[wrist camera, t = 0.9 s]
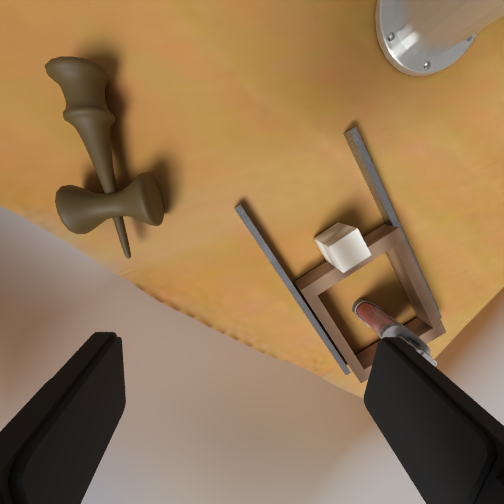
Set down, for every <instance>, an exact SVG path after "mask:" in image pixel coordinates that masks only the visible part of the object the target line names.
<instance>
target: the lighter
mask: <svg viewBox="0 0 504 504" xmlns="http://www.w3.org/2000/svg"><path fill="white" fill-rule="evenodd" d="M352 310H353V312H354V313H355V314H356V315H357V316H358V317H359V318H360V319H361V320H362V321H363V322H364V323H365V324H367V325H368V326H370V327H371V328H372V329H373V330H374V331H375V332H376V333H377V334H378V335H379V336H380V338H381V339H382V338H383V337H400V338H402V339H404V340H405V341H406V342H407V343H408V344H409V345H411V346H412V347H413V348H414V349H415V350H416V351H418V352H419V353H420V354H421V355H422V356H423V357H424V358H426V359H427V360H428V361H429V362H430V363H431V364H433V365H434V366H436V365H437V362H436V361H435V360H434V359H432V358H431V356H430V348H429V347H428V346H427V345H426V344H425V343H424V341H422V340H421V339H420V338H419V337H418V336H417V335H415V334H414V333H413V332H411V331H410V330H408V329H407V328H406V327H405V326H404V325H402V324H401V323H400V322H398V321H397V320H395V319H393V318H392V317H391V316H390V315H389V314H388V313H386V312H385V311H384V310H383V309H382V308H380V307H379V306H377V305H376V304H374V303H372V302H370V301H368V300H365V299H358V300H357V301H355V302H354V304H353V306H352Z"/></svg>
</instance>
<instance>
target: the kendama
mask: <svg viewBox="0 0 504 504" xmlns="http://www.w3.org/2000/svg"><path fill="white" fill-rule="evenodd" d="M45 68H46V72H47V74H48V75H49V77H51V78H52V79H53V80H54V81H55V82H56V83H58V84H59V85H60V87H61V89H62V91H63V94H64V97H65V100H66V109H65V110H64V112H63V117H64V119H65V120H66V121H67V122H69V123H71V124H72V125H73V126H74V127H75V128H76V130H77V131H78V133H79V135H80V136H81V138H82V140H83V142H84V144H85V147H86V149H87V151H88V153H89V155H90V158H91V160H92V162H93V165H94V167H95V170H96V172H97V175H98V177H99V180H100V182H101V185H102V188H103V190H104V193H105V194H102V193H95V192H92V191H89V190H86V189H84V188H81V187H77V186H74V185H66V186H62V187H60V189H59V190H58V191H57V192H56V199H55V203H56V207H57V212H58V214H59V216H60V219H61V221H62V223H63V224H64V225H65V226H66V227H67V229H68V230H69V231H71V232H73V233H75V234H86V233H88V232H90V231H92V230H93V229H95V228H96V227H97V226H98V225H100V224H101V223H102V222H103V221H105V220H107V219H110V218H113V220H114V223H115V226H116V230H117V233H118V236H119V239H120V242H121V245H122V248H123V251H124V254H125V256H126V257H127V258H130V257H131V252H130V247H129V242H128V238H127V233H126V229H125V224H124V220H123V216H131V217H134V218H136V219H139V220H141V221H143V222H145V223H147V224H150V225H153V226H159V225H160V224H161V223H162V221H163V217H164V207H163V201H162V196H161V193H160V190H159V187H158V185H157V183H156V181H155V180H154V178H153V177H152V176H151V175H150V174H148V173H142V174H140V175H138V176H137V177H136V178H135V179H134V180H133V181H132V182H131V183H130V184H129V185H128V186H127V187H126V188H125V189H123V190H122V191H119V192H117V187H116V181H115V175H114V168H113V160H112V152H111V141H110V130H111V126H112V125H113V124H114V122H115V120H116V118H115V116H114V115H113V114H112V113H111V112H110V111H109V109H108V107H107V104H106V99H105V88H106V87H107V85H108V81H109V77H108V74H107V73H106V71H105V70H104V69H103V68H102V67H100V66H99V65H97V64H96V63H94V62H92V61H89V60H86V59H83V58H77V57H58V58H54V59H51V60H50V61H49V62H48V63H47V64H45Z"/></svg>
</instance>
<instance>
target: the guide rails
mask: <svg viewBox="0 0 504 504" xmlns="http://www.w3.org/2000/svg"><path fill="white" fill-rule="evenodd" d="M344 136H345V138H346V140H347V142H348V144H349V146H350V148H351V151H352V153H353V155H354V157H355V159H356V161H357V163H358V165H359V168H360V170H361V172H362V174H363V176H364V178H365V180H366V183H367V185H368V187H369V189H370V191H371V193H372V195H373V198H374V200H375V202H376V204H377V206H378V208H379V210H380V212H381V215H382V217H383V219H384V221H385V223H386V225H390V226H395V227H399V228H400V231H401V233H402V235H403V237H404V239H405V242H406V244H407V246H408V248H409V251H410V253H411V255H412V257H413V259H414V262H415V264H416V266H417V268H418V270H419V273H420V275H421V277H422V279H423V282H424V284H425V286H426V288H427V290H428V293H429V295H430V297H431V299H432V301H433V304H434V306H435V308H436V310H437V313H438V315H439V317H440V318H442V317H441V315H440V313H439V310H438V308H437V306H436V304H435V302H434V299H433V297H432V295H431V293H430V290H429V288H428V286H427V284H426V281H425V279H424V277H423V275H422V272H421V270H420V268H419V266H418V264H417V261H416V259H415V257H414V255H413V252H412V250H411V248H410V246H409V243H408V241H407V239H406V237H405V235H404V232H403V230H402V228H401V226H400V223H399V221H398V219H397V217H396V214H395V212H394V210H393V208H392V206H391V203H390V201H389V199H388V197H387V194H386V192H385V190H384V188H383V185H382V183H381V181H380V179H379V176H378V174H377V172H376V170H375V168H374V165H373V163H372V161H371V159H370V156H369V154H368V152H367V150H366V147H365V145H364V143H363V141H362V139H361V136H360V134H359V132H358V130H357V127H354V128H352V129H350V130H348V131H347V132H345V133H344ZM234 209H235V210H236V212H237V213H238V215H239V216H240V218H241V219H242V221H243V222H244V224H245V225H246V227H247V228H248V230H249V231H250V233H251V234H252V236H253V237H254V239H255V240H256V242H257V243H258V245H259V246H260V248H261V249H262V251H263V252H264V254H265V255H266V257H267V258H268V260H269V261H270V263H271V264H272V266H273V267H274V269H275V270H276V272H277V273H278V274H279V276H280V277H281V279H282V280H283V282H284V283H285V285H286V286H287V288H288V289H289V291H290V292H291V294H292V295H293V297H294V298H295V300H296V301H297V303H298V304H299V306H300V307H301V309H302V310H303V312H304V313H305V315H306V316H307V318H308V319H309V321H310V322H311V324H312V325H313V327H314V328H315V330H316V331H317V333H318V334H319V336H320V337H321V339H322V340H323V342H324V343H325V345H326V346H327V348H328V349H329V351H330V352H331V354H332V355H333V357H334V358H335V360H336V361H337V363H338V364H339V366H340V367H341V369H342V370H343V372H344V373H345V375H347V374H349V373H351V372H350V371H349V369H348V367H347V366H346V364H345V363H344V361H343V360H342V358H341V357H340V355H339V354H338V352H337V351H336V349H335V348H334V346H333V345H332V343H331V342H330V340H329V339H328V337H327V336H326V334H325V332H324V331H323V329H322V328H321V326H320V325H319V323H318V322H317V320H316V319H315V317H314V316H313V314H312V313H311V311H310V310H309V308H308V307H307V305H306V304H305V302H304V301H303V299H302V297H301V296H300V294H299V293H298V291H297V290H296V288H295V287H294V285H293V284H292V282H291V281H290V279H289V278H288V276H287V275H286V273H285V272H284V270H283V269H282V267H281V266H280V264H279V263H278V261H277V259H276V258H275V256H274V255H273V253H272V252H271V250H270V249H269V247H268V246H267V244H266V243H265V241H264V240H263V238H262V237H261V235H260V234H259V232H258V231H257V229H256V228H255V226H254V224H253V223H252V221H251V220H250V218H249V217H248V215H247V214H246V212H245V211H244V209H243V208H242V206H241V205H240V204H239V205H238V206H236V207H235V208H234Z"/></svg>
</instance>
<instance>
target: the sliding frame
mask: <svg viewBox="0 0 504 504" xmlns="http://www.w3.org/2000/svg"><path fill="white" fill-rule="evenodd" d="M314 240H315V242H316V244H317V245H318V247H319V249H320V250H321V252H322V254H323V256H324V257H325V259H326V262H324V263H323V264H321V265H320V266H318V267H316V268H315V269H313V270H312V271H310V272H309V273H307V274H306V275H304V276H302V277H301V278H299V279H298V280H296V281H295V284H296V285H297V287H298V288H299V290H300V291H301V293H302V294H303V296H304V297H305V299H306V300H307V302H308V303H309V305H310V307H311V308H312V310H313V311H314V313H315V314H316V316H317V317H318V319H319V320H320V322H321V323H322V325H323V326H324V328H325V329H326V331H327V333H328V334H329V336H330V337H331V339H332V340H333V342H334V343H335V345H336V346H337V348H338V349H339V351H340V352H341V354H342V356H343V357H344V359H345V360H346V362H347V363H348V365H349V366H350V368H351V369H352V371H353V372H354V374H355V375H356V377H357V378H358V379H359V381H360V382H361V383H362V382H364V381H366V380H367V379H369V375H370V371H371V368H372V364H373V360H374V356H375V353H376V349H377V345H378V342H379V341H378V342H376V343H375V344H373V345H371V346H370V347H368V348H366V349H365V350H363V351H362V352H360V353H358V354H357V355H354V353H353V351H352V350H351V348H350V347H349V345H348V343H347V342H346V340H345V339H344V337H343V336H342V334H341V332H340V331H339V329H338V328H337V326H336V324H335V323H334V321H333V320H332V318H331V316H330V315H329V313H328V312H327V310H326V309H325V307H324V305H323V304H322V302H321V301H320V299H319V297H318V296H317V295H319V294H320V293H322V292H324V291H325V290H327V289H328V288H330V287H331V286H333V285H335V284H336V283H338V282H339V281H341V280H342V279H344V278H346V277H347V276H349V275H350V274H352V273H353V272H355V271H357V270H358V269H360V268H361V267H363V266H365V265H366V264H368V263H369V262H371V261H372V260H374V259H376V258H377V257H379V256H380V255H382V254H383V253H385V252H386V254H387V256H388V258H389V260H390V262H391V264H392V266H393V268H394V270H395V272H396V274H397V277H398V279H399V281H400V283H401V285H402V287H403V289H404V291H405V293H406V295H407V297H408V299H409V301H410V303H411V305H412V307H413V309H414V311H415V313H416V315H417V318H416V319H414V320H412V321H411V322H409V323H407V324H406V325H404V326H405V327H406V328H407V329H408V330H410V331H411V332H413V333H414V334H415V335H417V336H418V337H419V338H420V339H421V340H422V341H424V343H425V344H427V343H429V342H431V341H432V340H434V339H436V338H437V337H439V336H441V335H442V334H444V333H446V330H445V328H444V326H443V324H442V321H441V319H440V317H439V315H438V313H437V310H436V308H435V306H434V304H433V301H432V299H431V297H430V295H429V293H428V290H427V288H426V286H425V284H424V282H423V279H422V277H421V275H420V273H419V270H418V268H417V266H416V264H415V262H414V259H413V257H412V255H411V253H410V251H409V248H408V246H407V244H406V242H405V239H404V237H403V235H402V233H401V231H400V228H399V227H395V226H390V225H386V224H383V225H382V226H380V227H379V228H377V229H375V230H374V231H372V232H371V233H369V234H368V235H366V236H365V237H363V238H362V236H361V234H360V232H359V230H358V228H355V227H352V226H349V225H345V224H342V223H339V222H338V223H336V224H335V225H333V226H332V227H330V228H329V229H327V230H326V231H324V232H323V233H321V234H319V235H318V236H316V237H315V238H314ZM381 340H382V339H381ZM381 340H380V341H381Z"/></svg>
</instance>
